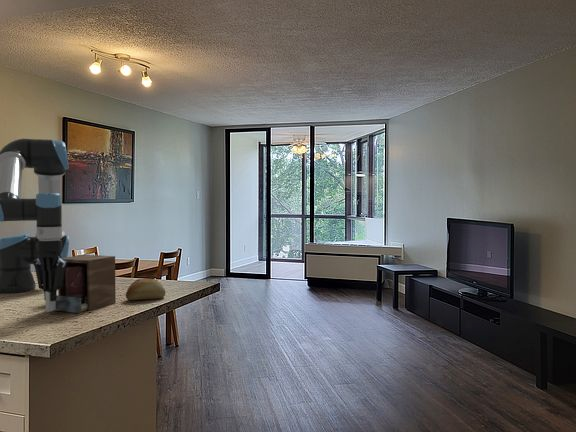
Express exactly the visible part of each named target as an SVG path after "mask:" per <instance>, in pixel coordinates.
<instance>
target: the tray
mask: <svg viewBox="0 0 576 432" xmlns="http://www.w3.org/2000/svg"><path fill="white" fill-rule="evenodd" d="M55 311H58V312H68V313H75V314H76V313H77V314H81V313H82V312H83V311H88V297H85V303H84V304H81V298H78V297H67V296H58V295H57V299H56V310H55Z"/></svg>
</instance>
